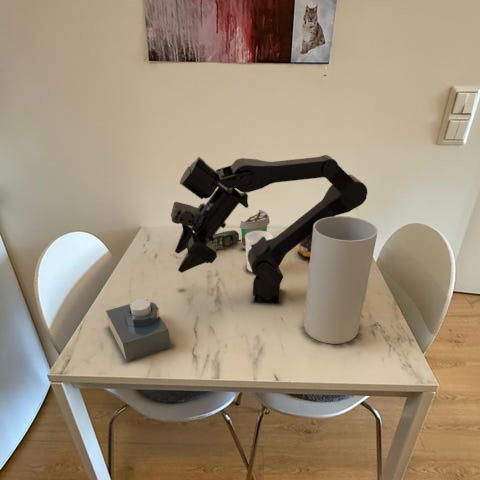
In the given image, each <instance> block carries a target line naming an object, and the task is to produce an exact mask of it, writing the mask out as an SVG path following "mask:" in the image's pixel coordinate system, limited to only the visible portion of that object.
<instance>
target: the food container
mask: <svg viewBox="0 0 480 480" xmlns="http://www.w3.org/2000/svg"><path fill="white" fill-rule="evenodd" d="M269 224H270V216H269V214H268V213H267V212H266V211H264V210H262V209H258V212H257V213H256V214H254V215H251V216H249V218H247V219H246V220H245V221H243V220H242V221H241V220H240V224H239V229H240V232H241V233H240V234H241V247H242V251H245V252H246V247H245V235H246V234H247V233H249V232H252V231H265V232H268V231H267V230H268V225H269Z"/></svg>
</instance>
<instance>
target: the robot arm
mask: <svg viewBox="0 0 480 480" xmlns="http://www.w3.org/2000/svg"><path fill="white" fill-rule="evenodd" d="M320 178H325V179H326V180H327V182H329V183H330V184H331V185H330V186H329V187H328V189H327V191H326V192H325V194H324V196H323V198H322V199H321V200H320V201H319V202H318V203H317V204H315V205H314V206H313V207H312V208H311V209H309V210H308V211H307V212H305V213H304V214H302V216H300V217H299V218H298V219H296V221H294V222H293V223H291V224H290V225H289V226H288V227H287V228H286V229H284V230H283V231H281V233H279V234H278V235H276V236H275V237H273V239H270V240H266V238H265V237H264V236H263V237H262V238H261V239H260V240H259V241H258V242H257V243H255V244H253V245H251V247H252V248H251V249H250V250H249V252H248V261H249V264H250V267H251V270H252V272H251V273H252V274H253V275H254V276H255V277H254V278H253V281H252V296H253V297H254V298H253V302H254V303H265V304H275V305H276V304H277V305H278V304H280V300H281V290H282V289H281V283H282V281H283V279H284V275H283V273H282V271H281V268H280V265H281V264H282V262H283V260H284V259H285V257H286V255H287V254H289V252H291V251H292V250H293V249H294V248H296V247H298V244H299V243H301V242H302V241H303V240H305V239H306V238H307V237H308V236H310V235H311V234H312V233H313V225H314V223H315V222H316V221H318V220H320V219H323V218H327V217H334V216H341V215H343V214H347V213H350V212H351V211H353V210H355V209H357V208H359V207H360V206H362V205H363V204H364V203H365V201H366V200H367V196H368V187H367V185H365V184H364V182H362V181H361V180H360V179H358V178H357V177H356V176H354V175H353V174H350V173H349V174H348V173H347V172H346V171H345V170H344V169H343V168H342V167H341V166H340V165H339V164H338V162H337V161H336V160H335V159H334V158H333V157H332V156H330V155H328V154H324V155H320V156H315V157H304V158H296V159H295V158H294V159H286V160H275V161H267V160H261V159H256V158H246V157H245V158H244V157H241V158H237V159H235V160H234V161H233V163H232V164H230V165H227V166H224V167H220V168H217V169H214V168H213V167H212V166H210V165H209V164H208V163H207V162H206V161H205V160H204V159H203V158H202V157H200V156H197V158H196V159H195V161H193V162H192V163H191V164H190V165H189V166H187V168H186V169H185V171H184V172H183V174H182V176H181V178H180V180H179V184H180V185H181V186H182V187H184V188H185V189H187V190H188V191H190V192H191V193H192V194H193V195H195V196H196V197H197V198H199V199H200V200H203V199H205V200H207V199H208V200H207V202H206V203H204V202H202V203H200V204H199V205H198V207H197V206H193V205H191V204H187V203H183V202H179V201H174V202H173V205H172V209H171V213H170V217H171V222H172V223H173V224H176V225H179V224H181V226H182V227H181V228H182V231H181V233H180V237H179V239H178V242H177V244H176V246H175V247H176V248H175V250H174V252H175V253H176V254H180V253H182V252H184V250H186V249H187V253H186V254H185V256H184V258H183V259H182V261H181V262H180V265H179V266H178V269H177V271H178V272H179V273H181V274H182V273H184V272H186V271H189V270H191V269H193V268H195V267H198V266H200V265H204V264H213V263H214V262H215V261H216V259H217V258H218V254H217V250H215V247H214V245H213V244H212V243H210V242H209V241H207V240H208V239H209V240H210V241H212V242H213V241H214V240H215V237H214V235H215V234H217V232H219V230H220V229H221V228H222V229H225V227H226V226H227V224H226V221H227V220H228V218H229V217H230V216H231V215H232V213H233V212H234V210H235V209H237V207H238V205H239V204H240V205H241V206H243V207H244V208H245V209H248V208H249V201H248V199H249V195H248V193H251V192H254V191H255V192H256V191H259V190H262V189H263V188H266V187H268V186H269V185H272V184H275V183H284V182H294V181H303V180H304V181H305V180H313V179H320Z"/></svg>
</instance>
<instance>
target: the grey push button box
mask: <svg viewBox="0 0 480 480" xmlns="http://www.w3.org/2000/svg"><path fill="white" fill-rule="evenodd" d="M145 300H148V298H146V299H145ZM148 301H149V300H148ZM149 302H150V305H151V313H150V314H148V315H146V316H142V317H135V316H133V315H132V314H131V309H130V304H131V303H129V304H125V305H121V306H118V307H114V308H111V309H107V310H105V314H106V318H107V322H108V327H109V329H110V331H111V333H112V335H113V337H114V339H115V341H116V343H117V345H118V347H119V349H120V352H121V353H122V355H123V357H124V360H125V361H126V362H130V361H133V360H137V359H139V358H142V357H145V356H149V355H151V354H154V353H157V352H160V351H164V350H167V349H169V348H171V347H172V346H171V339H170V338H171V337H170V331H169V328H168V326H167V325H166V324H165V322H164V321H163V319H162V318H161V317H160V310H159V307H158V305H157V304H156V303H154V302H151V301H149Z"/></svg>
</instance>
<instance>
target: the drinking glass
mask: <svg viewBox="0 0 480 480" xmlns="http://www.w3.org/2000/svg"><path fill="white" fill-rule="evenodd" d="M263 236H264V237H265V238H266V240H270V239H273V238H274V235H273V234H272V233H271V232H269V231H267V232H265V231H252V232H249V233H247V234H246V235H245V247H246V251H245V258H246V268H247V270H248V271H249V272H251V273H253V272H252V270H251V267H250V264H249V261H248V252H249V250H250V249H251V248H252V247H251V245H253V244H255V243H257V242H258V241H259V240H260V239H261V238H262V237H263Z"/></svg>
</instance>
